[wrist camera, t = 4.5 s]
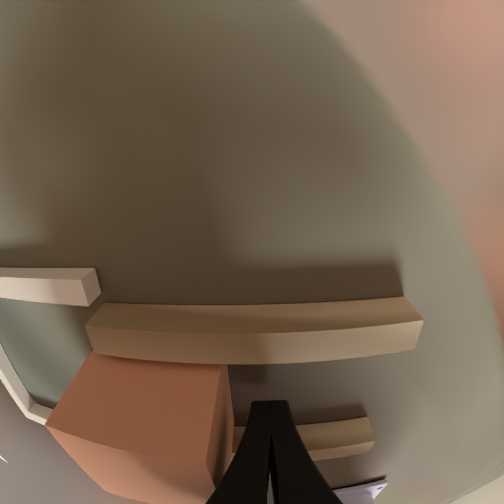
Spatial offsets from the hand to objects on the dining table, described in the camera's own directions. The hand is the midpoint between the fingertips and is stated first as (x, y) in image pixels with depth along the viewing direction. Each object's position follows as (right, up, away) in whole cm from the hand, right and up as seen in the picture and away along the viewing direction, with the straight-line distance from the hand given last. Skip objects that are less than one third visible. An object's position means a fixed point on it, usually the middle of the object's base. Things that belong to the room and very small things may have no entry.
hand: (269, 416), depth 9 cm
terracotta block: (-4, 0, +2) cm, 4 cm away
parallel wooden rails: (-1, 0, +1) cm, 2 cm away
